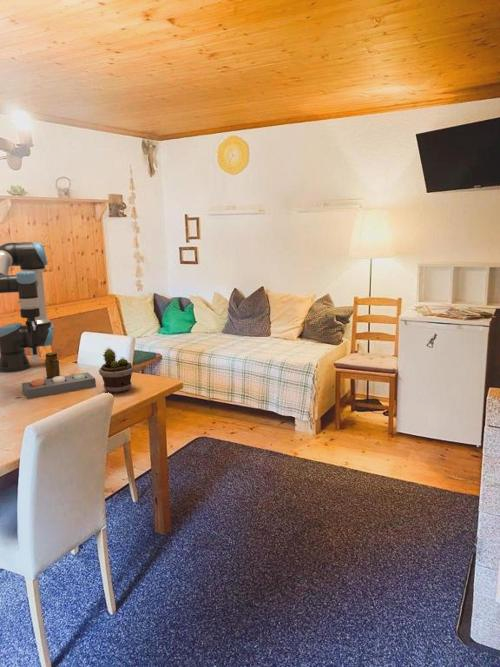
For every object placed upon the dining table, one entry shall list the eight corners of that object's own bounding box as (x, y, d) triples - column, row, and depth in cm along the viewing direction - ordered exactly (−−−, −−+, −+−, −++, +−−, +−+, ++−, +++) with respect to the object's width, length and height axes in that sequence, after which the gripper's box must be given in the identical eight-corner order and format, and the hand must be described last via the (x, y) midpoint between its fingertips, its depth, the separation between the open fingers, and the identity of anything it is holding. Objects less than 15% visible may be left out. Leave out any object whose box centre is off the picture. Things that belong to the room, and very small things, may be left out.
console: (22, 391, 219) (21, 383, 218) (88, 380, 235) (87, 372, 234) (27, 399, 209) (26, 390, 209) (95, 386, 225) (95, 378, 224)
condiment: (58, 374, 246) (56, 351, 243) (64, 378, 239) (62, 354, 237) (43, 377, 241) (40, 353, 239) (48, 381, 235) (46, 356, 232)
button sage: (72, 382, 227) (72, 375, 227) (83, 380, 230) (83, 373, 229) (75, 385, 223) (75, 377, 223) (86, 383, 226) (86, 376, 225)
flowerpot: (142, 388, 222) (139, 344, 218) (117, 397, 210) (113, 352, 205) (118, 383, 230) (115, 341, 226) (93, 392, 217) (89, 348, 213)
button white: (52, 384, 222) (51, 377, 222) (63, 382, 225) (63, 375, 224) (54, 387, 218) (54, 379, 218) (66, 385, 221) (65, 377, 220)
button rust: (30, 388, 218) (30, 380, 217) (42, 386, 220) (42, 378, 220) (33, 391, 213) (32, 383, 213) (45, 389, 216) (44, 381, 215)
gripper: (17, 306, 213) (23, 359, 217) (22, 310, 202) (28, 366, 207) (35, 305, 217) (41, 357, 221) (42, 308, 206) (47, 363, 211)
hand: (35, 361), depth 214 cm, fingers closed
